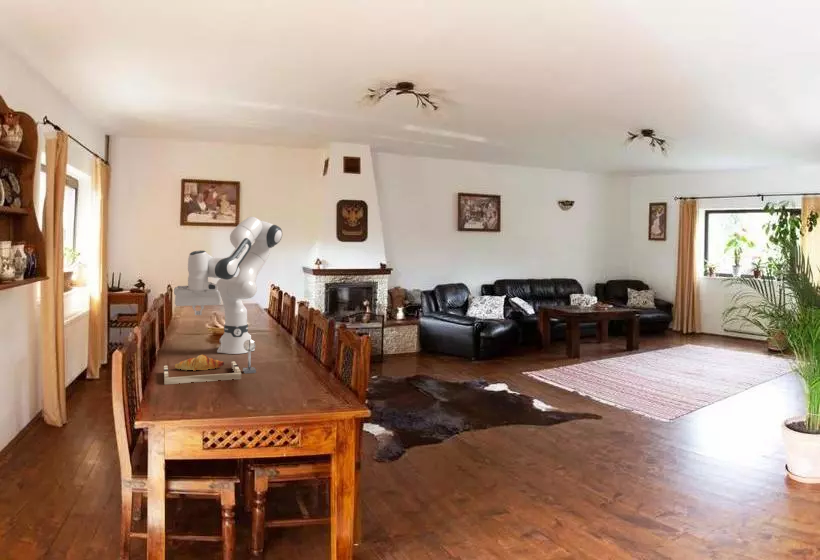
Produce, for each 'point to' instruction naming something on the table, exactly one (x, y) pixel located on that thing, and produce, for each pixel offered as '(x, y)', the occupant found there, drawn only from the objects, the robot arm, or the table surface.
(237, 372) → the frame
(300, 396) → the table surface
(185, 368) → the croissant
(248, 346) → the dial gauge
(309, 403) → the table surface
